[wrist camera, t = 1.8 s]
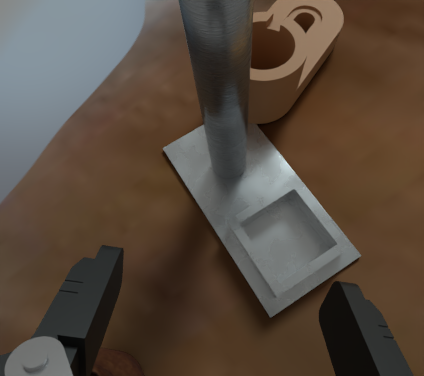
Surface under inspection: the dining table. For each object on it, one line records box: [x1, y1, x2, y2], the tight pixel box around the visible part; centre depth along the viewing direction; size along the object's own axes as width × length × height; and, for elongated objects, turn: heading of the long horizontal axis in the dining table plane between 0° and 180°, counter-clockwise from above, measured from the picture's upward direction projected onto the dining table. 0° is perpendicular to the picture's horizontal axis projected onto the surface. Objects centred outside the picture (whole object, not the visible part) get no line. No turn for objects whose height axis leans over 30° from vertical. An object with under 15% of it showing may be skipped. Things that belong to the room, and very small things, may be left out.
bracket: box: [248, 0, 343, 124], centre depth 34 cm, size 18×8×7 cm, turn 145°
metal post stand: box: [163, 0, 361, 318], centre depth 19 cm, size 10×20×28 cm, turn 32°
